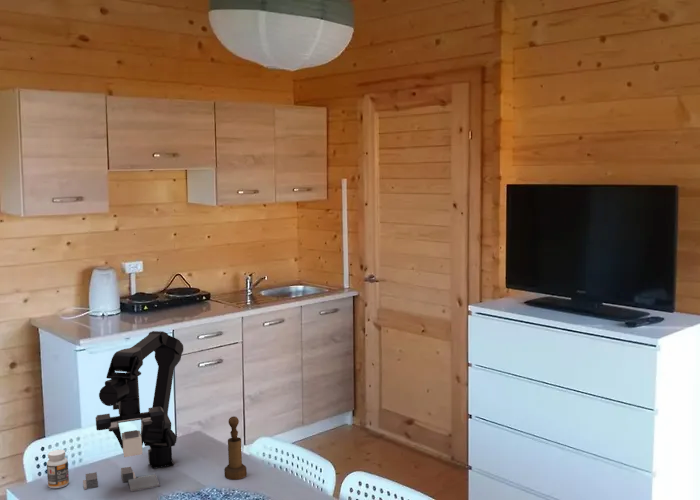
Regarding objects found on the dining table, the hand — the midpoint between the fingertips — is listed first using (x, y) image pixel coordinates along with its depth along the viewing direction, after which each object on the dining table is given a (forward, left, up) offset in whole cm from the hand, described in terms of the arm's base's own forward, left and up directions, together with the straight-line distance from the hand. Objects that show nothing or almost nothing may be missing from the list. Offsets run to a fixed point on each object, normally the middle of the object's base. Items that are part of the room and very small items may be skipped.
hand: (132, 446), depth 210 cm
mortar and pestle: (-29, +6, -12) cm, 32 cm away
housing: (+6, -6, -12) cm, 15 cm away
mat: (-3, 0, -12) cm, 12 cm away
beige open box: (0, +1, -1) cm, 2 cm away
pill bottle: (+20, -10, -12) cm, 26 cm away
